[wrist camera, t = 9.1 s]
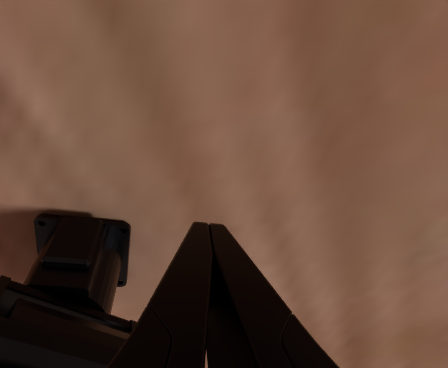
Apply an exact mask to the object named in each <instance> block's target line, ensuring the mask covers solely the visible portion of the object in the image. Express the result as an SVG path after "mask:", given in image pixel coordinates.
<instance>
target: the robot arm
mask: <svg viewBox="0 0 448 368" xmlns="http://www.w3.org/2000/svg"><path fill="white" fill-rule="evenodd" d="M41 220H42V221H44V222H42V221H41ZM34 225H35V234H36V242H37V251H38V257H37V258H36V260H35V262H34V264H33V266H32V268H31V270H30V272H29V274H28V276H27V278H26V280H25V282H24V284H21V283H18V282H15V281H12V280H11V278H8V277H6V276H3V275H2V276H1V277H0V368H205V355H206V352H207V361H208V368H339V367H338V366H337V364H336V363H335V362H334V361H333V360H332V359H331V358H330V357H329V356H328V355H327V353H326V352H325V351H324V350H323V349H322V348H321V347H320V346H319V345H318V343H317V342H316V341H315V340H314V339H313V337H312V336H311V335H310V334H309V333H308V331H307V330H306V329H305V328H304V326H303V325H302V324H301V323H300V321H299V320H298V319H297V318H296V316H295V315H294V314H292V311H291V310H290V309H289V307H288V306H287V305H286V304H285V302H284V301H283V300H282V298H281V297H280V296H279V295H278V293H277V292H276V291H275V289H274V288H273V287H272V286H271V284H270V283H269V282H268V281H267V279H266V278H265V277H264V275H263V274H262V273H261V272H260V270H259V269H258V268H257V266H256V265H255V264H254V263H253V261H252V260H251V259H250V257H249V256H248V255H247V254H246V252H245V251H244V250H243V248H242V247H241V246H240V245H239V243H238V242H237V241H236V239H235V238H234V237H233V236H232V234H231V233H230V232H229V230H228V229H227V228H226V227H225V226H224V225H223V224H215V223H210V224H209V225H208V223H204V222H193V224H192V225H191V227H190V229H189V231H188V233H187V234H186V236H185V238H184V240H183V242H182V243H181V245H180V247H179V249H178V251H177V252H176V254H175V256H174V258H173V260H172V261H171V263H170V265H169V267H168V269H167V270H166V272H165V274H164V276H163V278H162V279H161V281H160V283H159V285H158V287H157V288H156V290H155V292H154V294H153V295H152V297H151V299H150V301H149V303H148V305H147V307H146V308H145V309H144V311H143V313H142V315H141V317H140V318H139V320H138V322H136V321H133V320H130V321H128V320H125V319H122V318H119V317H117V316H114V315H111V309H112V305H113V300H114V296H115V292H116V287H123V286H125V285H126V283H127V275H128V261H129V247H130V234H131V226H130V225H129V224H128V223H126V222H119V221H108V220H98V219H88V218H78V217H68V216H58V215H48V214H40V215H38V216H37V217H36V219H35V221H34ZM121 228H124V229H126V230H122V229H121Z"/></svg>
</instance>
